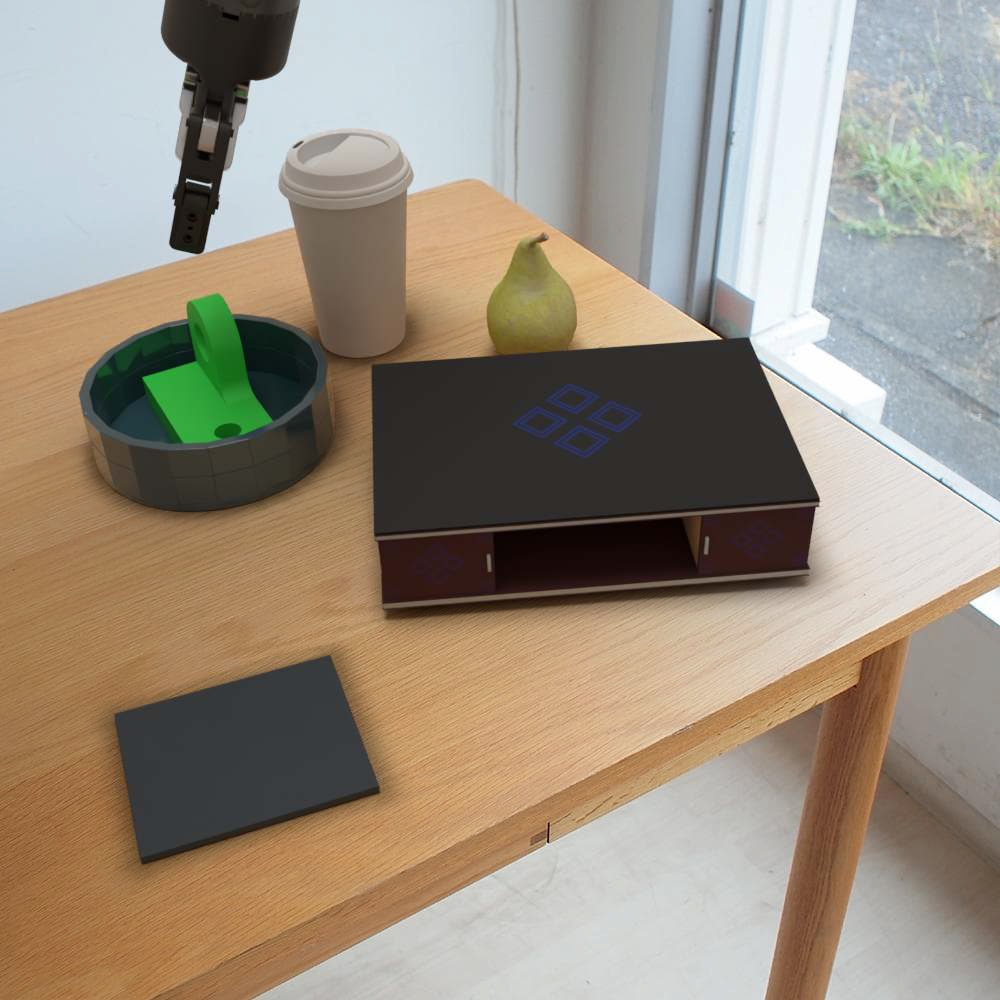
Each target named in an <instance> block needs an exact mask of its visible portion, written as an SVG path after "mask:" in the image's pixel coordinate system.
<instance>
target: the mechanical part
mask: <svg viewBox="0 0 1000 1000" xmlns="http://www.w3.org/2000/svg"><path fill="white" fill-rule="evenodd" d="M232 314H233V313H232V312H231V309H230V307H229V305H228V303H227V302H226V300H225V299H224V297H223V296H222V294H220V293H219V292H216V293H212V294H209V295H205V296H202V297H198V298H195V299H191V300H188V301H187V303H186V317H187V318H188V323H189V328H190V333H191V338H192V343H193V347H194V352H195V357H196V362H192V363H189V364H186V365H182V366H179V367H176V368H172V369H169V370H166V371H162V372H159V373H155V374H152V375H149V376H145V377H142V379H143V384H144V388H145V392H146V396H147V400H148V402H149V404H150V406H151V407H152V409H153V410H154V412H155V414H156V415H157V417H158V418H159V420H160V422H161V423H162V425H163V427H164V428H165V430H166V431H167V433H168V435H169V436H170V438H171V439H172V441H173V443H174V444H180V443H202V442H211V441H216V440H220V439H225V438H229V437H233V436H238V435H242V434H245V433H248V432H250V431H252V430H255V429H257V428H259V427H261V426H264V425H266V424H268V423H271V422H273V420H272V419H271V418H270V416H269V415H268V414H267V412H266V411H265V410H264V408H263V407H262V406H261V404H260V403H259V402H258V400H257V399H256V397H255V396H254V394H253V392H252V390H251V387H250V384H249V381H248V377H247V371H246V366H245V360H244V354H243V349H242V344H241V340H240V336H239V333H238V330H237V327H236V324H235V321H234V318H233V316H232ZM187 318H186V319H187Z"/></svg>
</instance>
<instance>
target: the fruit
mask: <svg viewBox="0 0 1000 1000" xmlns="http://www.w3.org/2000/svg"><path fill="white" fill-rule="evenodd" d="M549 239H550V236H549V235H548V234H547V233H546V232H541V233H540V235H538V236H536V237H533V236H527V237H524V238H522V239H521V240H520V241H519V242H518V243H517V245H516V248H515V250H514V252H513V255H512V256H511V261H510V263H509V264H508V268H507V270H506V272H505V274H504V276H503V278H502V279H501V280H500V282H499V283H498V284H497V285H496V286H495V288H493V290H492V291H491V293H490V297H489V298H488V302H487V304H486V305H487V306H486V324H487V331H488V334H489V337H490V339H491V341H492V343H493V345H494V347H495V348H496V350H497V351H498V352H499V353H500V355H509V354H523V353H537V352H551V351H565V350H567V349H568V347H569V346H570V344H571V343H572V342H573V340H574V335H575V333H576V330H577V326H578V311H577V303H576V298H575V296H574V293H573V290H572V288H571V286H570V285H569V284H568V282H567V281H566V280H565V279H564V278H563V277H562V275H560V273H558V271H557V270H556V269H555V268H554V267H553V266H552V265H551V263H550V261H549V260H548V257H547V255H546V254H545V250H544V249H543V248H542V246H541V244H542V243H544V242H547V241H548V240H549Z"/></svg>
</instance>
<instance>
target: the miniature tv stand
mask: <svg viewBox="0 0 1000 1000" xmlns="http://www.w3.org/2000/svg"><path fill="white" fill-rule="evenodd" d="M370 369H371V371H370V373H371V374H370V375H371V433H372V435H371V436H372V440H371V441H372V486H373V487H372V490H373V491H372V492H373V493H372V494H373V495H372V496H373V498H372V499H373V537H374V543H377V545H378V554H379V562H380V563H379V564H380V572H381V573H380V575H381V578H380V579H381V605H382V611H388V610H389V611H390V610H401V609H402V610H403V609H415V608H426V607H427V608H429V607H438V606H439V607H440V606H451V605H463V604H477V603H488V602H500V601H501V602H502V601H513V600H514V601H515V600H526V599H537V598H538V599H539V598H551V597H563V596H577V595H585V594H587V595H588V594H601V593H611V592H612V593H613V592H623V591H625V592H627V591H637V590H648V589H662V588H672V587H673V588H674V587H686V586H687V587H688V586H698V585H711V584H723V583H734V582H747V581H760V580H761V581H762V580H773V579H784V578H796V577H808V576H810V574H809V572H810V570H811V568H810V564H809V563H808V561H809V555H810V548H811V543H812V542H811V540H812V535H813V528H814V522H815V516H816V515H815V514H816V508H820V507H821V506H820V502H821V497H820V495H819V492H818V490H817V488H816V486H815V484H814V481H813V479H812V477H811V475H810V472H809V471H808V468H807V466H806V464H805V461H804V459H803V456H802V454H801V452H800V451H799V447H798V446H797V443H796V440H795V438H794V436H793V435H792V432H791V430H790V427H789V425H788V423H787V421H786V418H785V416H784V414H783V411H782V409H781V407H780V405H779V402H778V401H777V398H776V396H775V394H774V391H773V389H772V387H771V384H770V382H769V380H768V377H767V376H766V374H765V373H766V372H765V371H764V369H763V366H762V365H761V362H760V359H759V357H758V356H757V352H756V351H755V349H754V346H753V343H752V342H751V340H750V337H749V336H746V337H745V336H744V337H732V338H720V339H719V338H718V339H704V340H691V341H678V342H664V343H649V344H636V345H635V344H634V345H621V346H620V345H619V346H607V347H595V348H594V347H593V348H592V347H591V348H579V349H565V350H564V351H551V352H537V353H523V354H509V355H502V354H496V355H484V356H470V357H457V358H443V359H442V358H441V359H429V360H428V359H427V360H414V361H401V362H388V363H373V364H371V367H370Z"/></svg>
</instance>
